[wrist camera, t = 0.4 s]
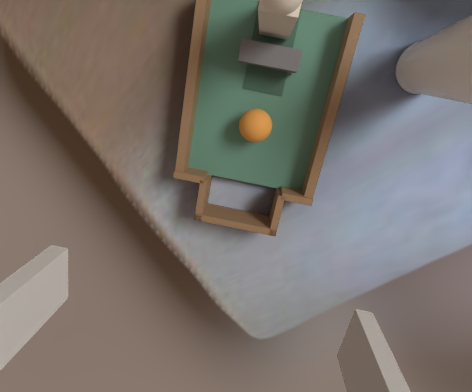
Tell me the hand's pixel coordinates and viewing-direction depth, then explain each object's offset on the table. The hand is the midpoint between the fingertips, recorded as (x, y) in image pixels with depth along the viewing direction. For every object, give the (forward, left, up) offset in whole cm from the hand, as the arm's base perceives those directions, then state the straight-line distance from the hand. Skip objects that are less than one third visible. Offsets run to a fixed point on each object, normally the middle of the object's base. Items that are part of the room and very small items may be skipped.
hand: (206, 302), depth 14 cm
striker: (-15, +1, -24) cm, 28 cm away
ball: (-6, +1, -23) cm, 23 cm away
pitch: (-6, +1, -26) cm, 26 cm away
